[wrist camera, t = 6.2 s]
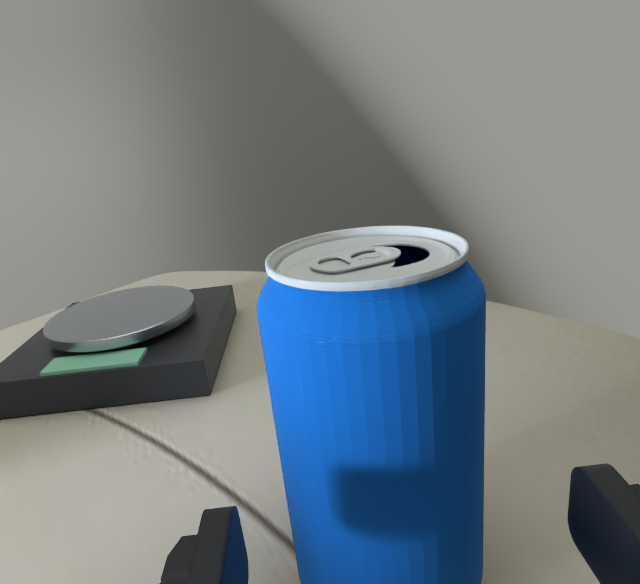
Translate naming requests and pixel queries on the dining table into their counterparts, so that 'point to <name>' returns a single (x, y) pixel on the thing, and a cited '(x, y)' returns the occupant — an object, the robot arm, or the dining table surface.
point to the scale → (121, 365)
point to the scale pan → (119, 319)
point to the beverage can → (379, 403)
